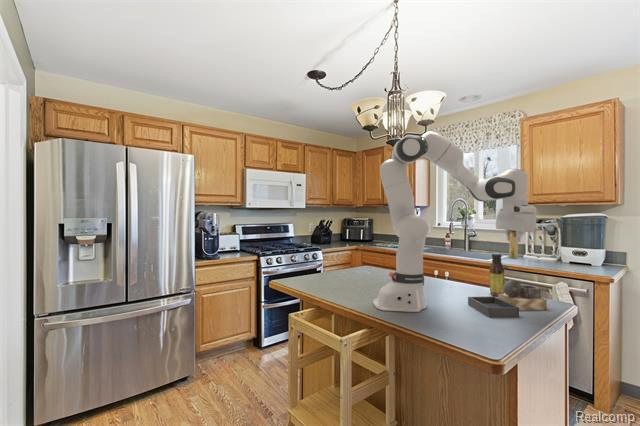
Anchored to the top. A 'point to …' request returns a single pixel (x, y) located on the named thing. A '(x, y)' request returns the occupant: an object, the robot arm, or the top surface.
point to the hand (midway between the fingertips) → (513, 241)
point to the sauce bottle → (496, 275)
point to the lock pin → (513, 246)
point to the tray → (493, 307)
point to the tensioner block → (523, 296)
